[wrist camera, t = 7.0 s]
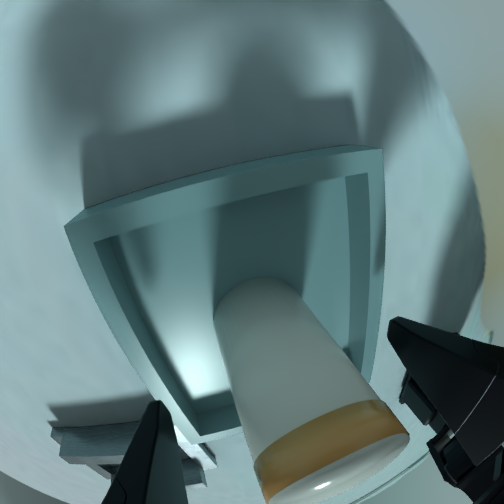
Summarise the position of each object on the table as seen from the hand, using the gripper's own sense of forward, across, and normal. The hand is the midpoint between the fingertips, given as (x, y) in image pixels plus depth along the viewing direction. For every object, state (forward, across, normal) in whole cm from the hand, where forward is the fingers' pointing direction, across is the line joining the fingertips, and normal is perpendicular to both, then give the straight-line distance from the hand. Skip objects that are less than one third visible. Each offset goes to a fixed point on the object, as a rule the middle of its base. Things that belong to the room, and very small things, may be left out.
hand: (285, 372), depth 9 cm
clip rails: (+4, +11, +10) cm, 15 cm away
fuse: (+3, 0, 0) cm, 3 cm away
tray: (+4, 0, 0) cm, 4 cm away
